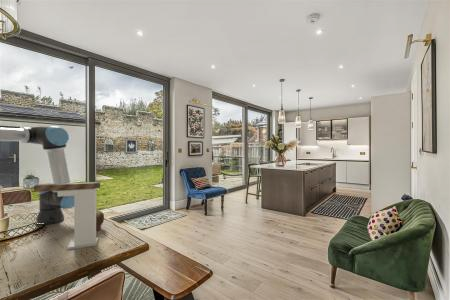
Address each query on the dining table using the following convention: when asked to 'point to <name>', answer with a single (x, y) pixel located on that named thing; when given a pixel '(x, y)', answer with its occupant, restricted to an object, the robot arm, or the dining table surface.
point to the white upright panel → (83, 217)
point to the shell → (99, 219)
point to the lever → (66, 186)
